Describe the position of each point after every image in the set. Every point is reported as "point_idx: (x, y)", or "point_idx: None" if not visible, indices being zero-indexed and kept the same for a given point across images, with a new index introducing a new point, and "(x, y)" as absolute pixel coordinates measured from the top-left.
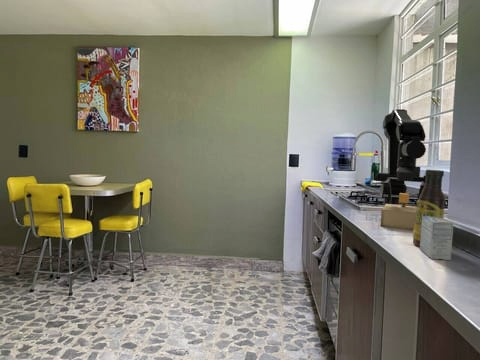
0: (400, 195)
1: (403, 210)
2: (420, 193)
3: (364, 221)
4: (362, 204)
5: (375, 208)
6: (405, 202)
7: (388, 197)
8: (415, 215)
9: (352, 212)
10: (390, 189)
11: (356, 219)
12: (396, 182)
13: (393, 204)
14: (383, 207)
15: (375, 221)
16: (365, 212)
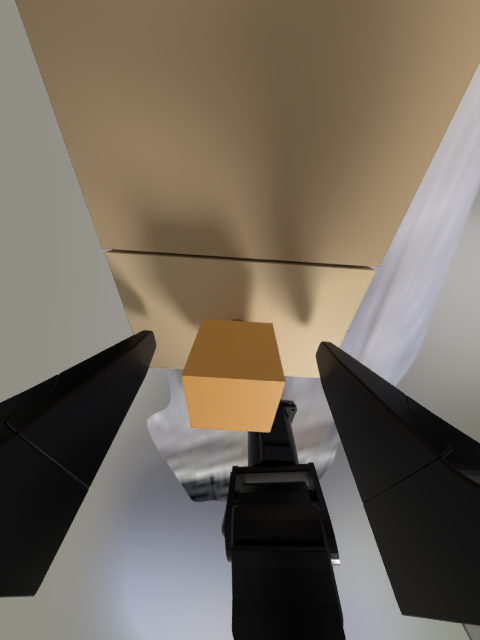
0: (269, 366)
1: (239, 48)
2: (45, 395)
3: (429, 210)
4: (321, 470)
5: (298, 448)
6: (223, 322)
7: (359, 363)
8: None
9: (394, 384)
10: (396, 450)
11: (452, 247)
12: (274, 575)
13: (286, 373)
14: (417, 177)
15: None
16: None
